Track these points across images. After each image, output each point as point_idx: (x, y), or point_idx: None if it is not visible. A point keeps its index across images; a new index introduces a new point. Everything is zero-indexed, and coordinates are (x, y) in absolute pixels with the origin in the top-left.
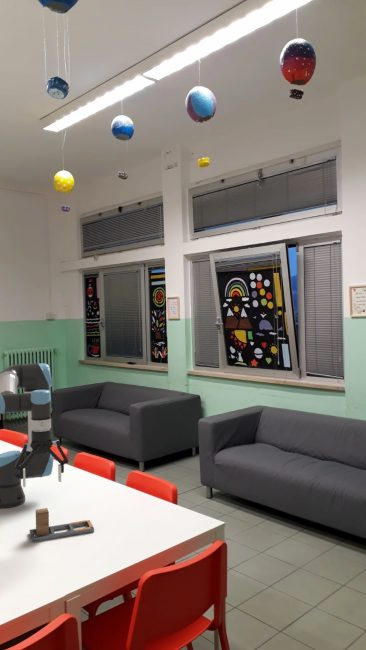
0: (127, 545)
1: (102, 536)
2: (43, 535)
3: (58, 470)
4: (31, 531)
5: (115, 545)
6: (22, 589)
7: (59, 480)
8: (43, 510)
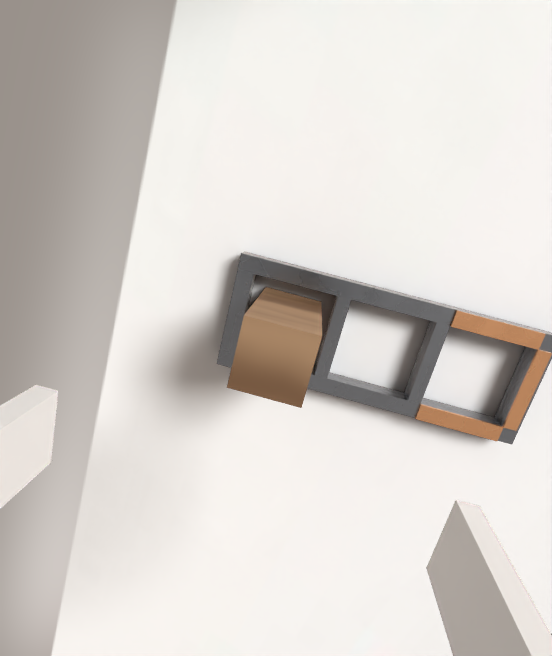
0: None
1: (504, 492)
2: None
3: (505, 654)
4: (242, 282)
5: None
6: (102, 634)
7: (433, 586)
8: (282, 364)
